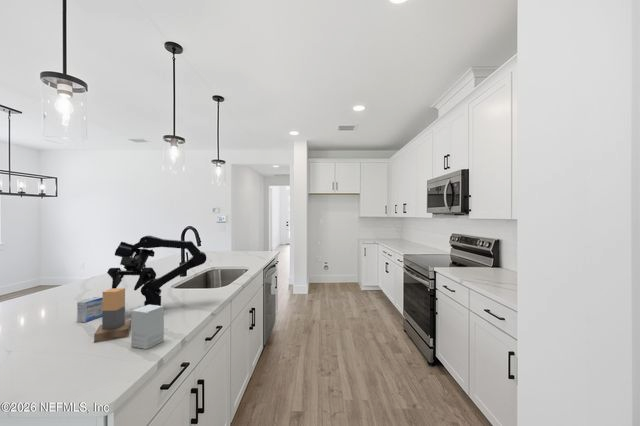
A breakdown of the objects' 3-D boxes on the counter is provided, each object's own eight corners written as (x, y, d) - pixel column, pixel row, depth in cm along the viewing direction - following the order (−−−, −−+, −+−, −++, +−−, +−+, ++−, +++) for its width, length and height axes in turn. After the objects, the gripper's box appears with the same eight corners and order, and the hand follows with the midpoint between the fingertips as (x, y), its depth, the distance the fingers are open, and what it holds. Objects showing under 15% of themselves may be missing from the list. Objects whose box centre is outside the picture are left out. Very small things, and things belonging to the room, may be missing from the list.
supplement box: (164, 340, 102) (164, 305, 102) (145, 349, 95) (146, 312, 95) (149, 337, 104) (149, 303, 104) (130, 346, 97) (130, 310, 97)
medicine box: (85, 322, 119) (85, 302, 119) (76, 322, 120) (76, 301, 120) (103, 316, 127) (103, 297, 127) (94, 315, 127) (95, 296, 128)
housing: (111, 324, 109) (111, 288, 109) (124, 324, 109) (125, 288, 110) (102, 329, 104) (102, 291, 104) (116, 329, 104) (116, 291, 105)
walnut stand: (131, 327, 114) (131, 320, 114) (127, 336, 105) (127, 328, 105) (100, 332, 109) (100, 324, 109) (94, 342, 100) (94, 334, 100)
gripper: (110, 249, 125) (90, 280, 114) (153, 249, 126) (138, 279, 115) (121, 264, 133) (104, 294, 121) (162, 264, 133) (148, 293, 122)
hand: (123, 290), depth 120 cm, fingers open, 9 cm apart
